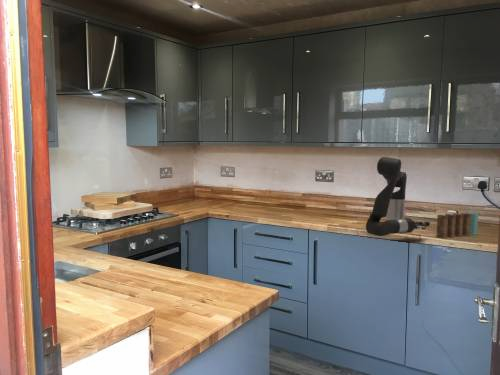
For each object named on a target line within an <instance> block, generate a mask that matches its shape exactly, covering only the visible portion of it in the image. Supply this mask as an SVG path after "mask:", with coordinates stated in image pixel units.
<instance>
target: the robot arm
mask: <svg viewBox="0 0 500 375" xmlns="http://www.w3.org/2000/svg"><path fill="white" fill-rule="evenodd" d="M401 169H402V161H401V159H399V158H396V157H389V156H382V157H380V158H379V160H378V161H377V165H376V172H377V173H378V174H379V175H380V176H382V177H383V178H384V179H385V181H386V184H387V185H386V186H385V187H384V188H383V189H382V190H381V191H380V192H379V193H378V194H377V196H376V197H375V199H374V202H373V208H372V210H371V213H370V215H369V217H368V219H367V221H366V223H365V231H366V232H367V233H368V234H369V235H373V236H377V237H378V236H379V237H384V236H388V235H393V234H398V235H399V234H410V233H412V232H413V231H414V230H419V229H421V230H426V229H427V227H430V225H431V224H430V221H419V220H413V219H411V218H410V217H406V218H405V209H406V208H405V207H406V206H405V205H406V189H407V177H408V176H407V172H405V171H401ZM395 188H399V190H397V191H395ZM385 217H386V220H384V221H381V219H382V218H385Z"/></svg>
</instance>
